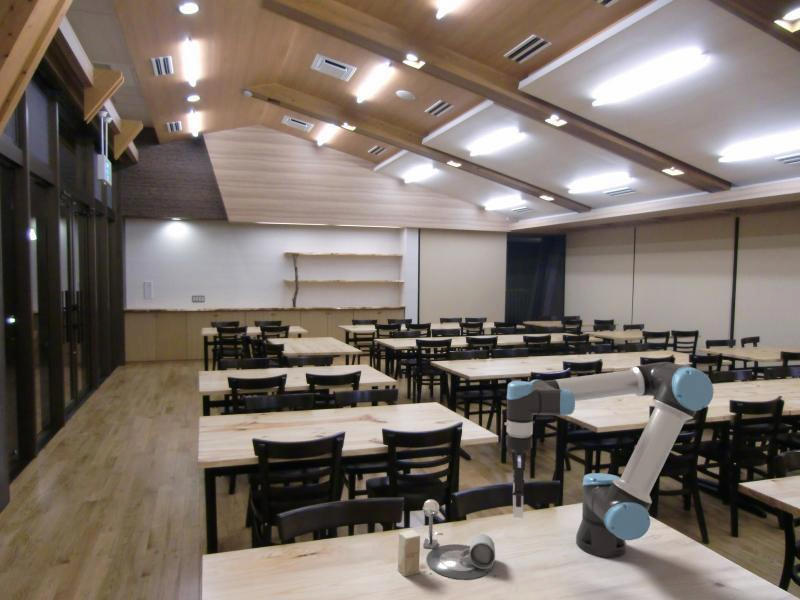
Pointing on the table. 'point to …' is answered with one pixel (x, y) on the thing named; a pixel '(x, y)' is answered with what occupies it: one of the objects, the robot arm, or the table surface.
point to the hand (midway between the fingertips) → (517, 510)
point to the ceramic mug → (480, 552)
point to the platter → (453, 563)
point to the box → (409, 553)
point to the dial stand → (431, 522)
